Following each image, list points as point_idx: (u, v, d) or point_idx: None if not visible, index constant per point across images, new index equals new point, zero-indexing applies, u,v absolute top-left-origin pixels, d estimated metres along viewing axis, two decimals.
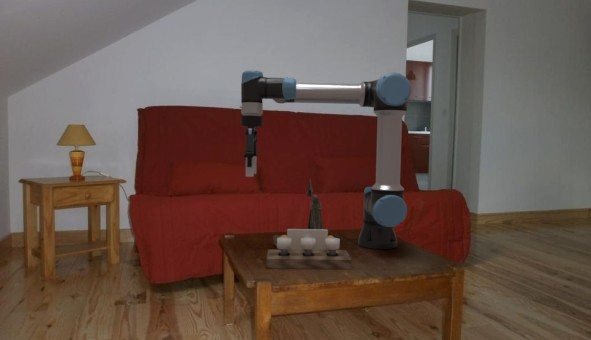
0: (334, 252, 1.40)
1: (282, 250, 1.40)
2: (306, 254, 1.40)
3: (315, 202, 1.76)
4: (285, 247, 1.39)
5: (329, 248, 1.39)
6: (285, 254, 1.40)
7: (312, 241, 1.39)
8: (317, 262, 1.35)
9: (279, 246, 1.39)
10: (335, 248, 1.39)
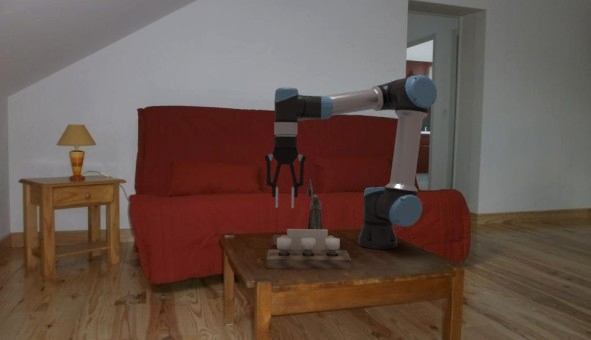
0: (334, 252, 1.40)
1: (282, 250, 1.40)
2: (306, 254, 1.40)
3: (315, 202, 1.76)
4: (285, 247, 1.39)
5: (329, 248, 1.39)
6: (285, 254, 1.40)
7: (312, 241, 1.39)
8: (317, 262, 1.35)
9: (279, 246, 1.39)
10: (335, 248, 1.39)
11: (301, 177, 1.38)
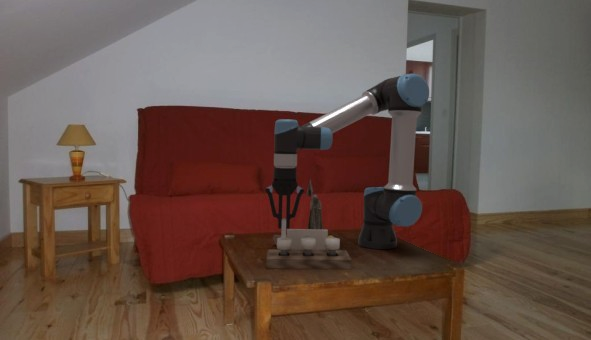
0: (334, 252, 1.40)
1: (282, 250, 1.40)
2: (306, 254, 1.40)
3: (315, 202, 1.76)
4: (285, 247, 1.39)
5: (329, 248, 1.39)
6: (285, 254, 1.40)
7: (312, 241, 1.39)
8: (317, 262, 1.35)
9: (279, 247, 1.39)
10: (335, 248, 1.39)
11: (295, 209, 1.39)
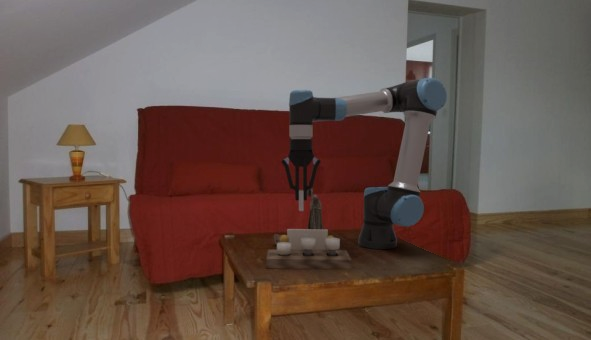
0: (334, 252, 1.40)
1: (282, 255, 1.40)
2: (306, 254, 1.40)
3: (315, 202, 1.76)
4: (285, 252, 1.39)
5: (329, 248, 1.39)
6: None
7: (312, 241, 1.39)
8: (317, 262, 1.35)
9: (279, 252, 1.39)
10: (335, 248, 1.39)
11: (312, 180, 1.39)
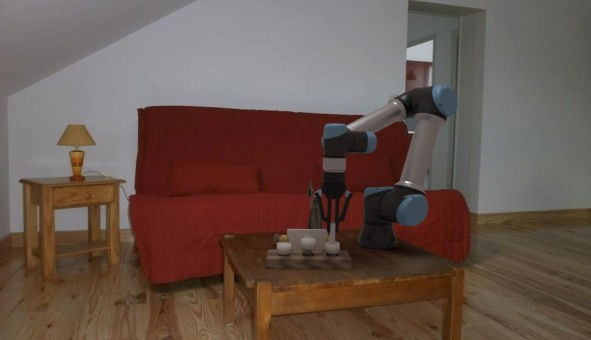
0: None
1: (282, 255, 1.40)
2: (306, 254, 1.40)
3: (315, 202, 1.76)
4: (285, 252, 1.39)
5: (329, 252, 1.39)
6: None
7: (312, 241, 1.39)
8: (317, 262, 1.35)
9: (279, 252, 1.39)
10: (335, 252, 1.39)
11: (344, 213, 1.39)
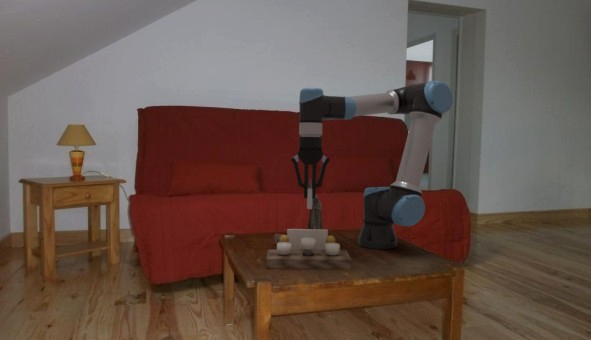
0: None
1: (282, 255, 1.40)
2: (306, 254, 1.40)
3: (315, 202, 1.76)
4: (285, 252, 1.39)
5: (329, 253, 1.39)
6: None
7: (312, 241, 1.39)
8: (317, 262, 1.35)
9: (279, 252, 1.39)
10: (335, 253, 1.39)
11: (321, 178, 1.39)
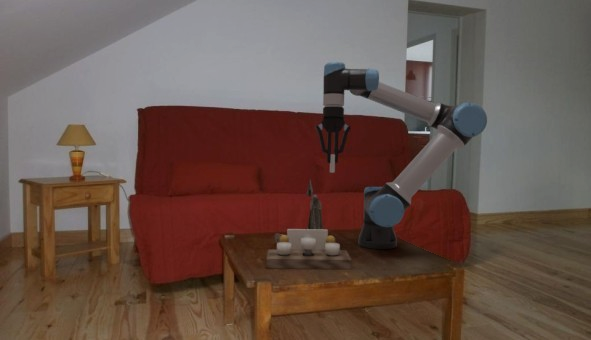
0: None
1: (282, 255, 1.40)
2: (306, 254, 1.40)
3: (315, 202, 1.76)
4: (285, 252, 1.39)
5: (329, 253, 1.39)
6: None
7: (312, 241, 1.39)
8: (317, 262, 1.35)
9: (279, 252, 1.39)
10: (335, 253, 1.39)
11: (342, 145, 1.53)
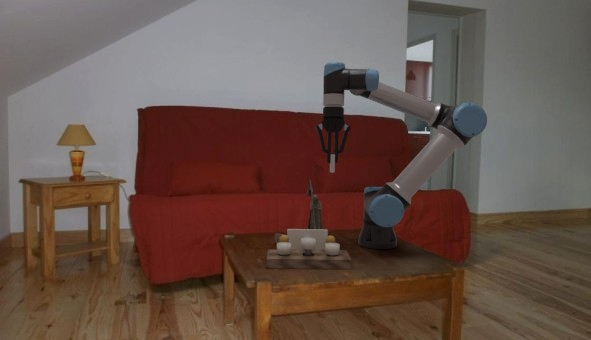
0: None
1: (282, 255, 1.40)
2: (306, 254, 1.40)
3: (315, 202, 1.76)
4: (285, 252, 1.39)
5: (329, 253, 1.39)
6: None
7: (312, 241, 1.39)
8: (317, 262, 1.35)
9: (279, 252, 1.39)
10: (335, 253, 1.39)
11: (342, 145, 1.53)
